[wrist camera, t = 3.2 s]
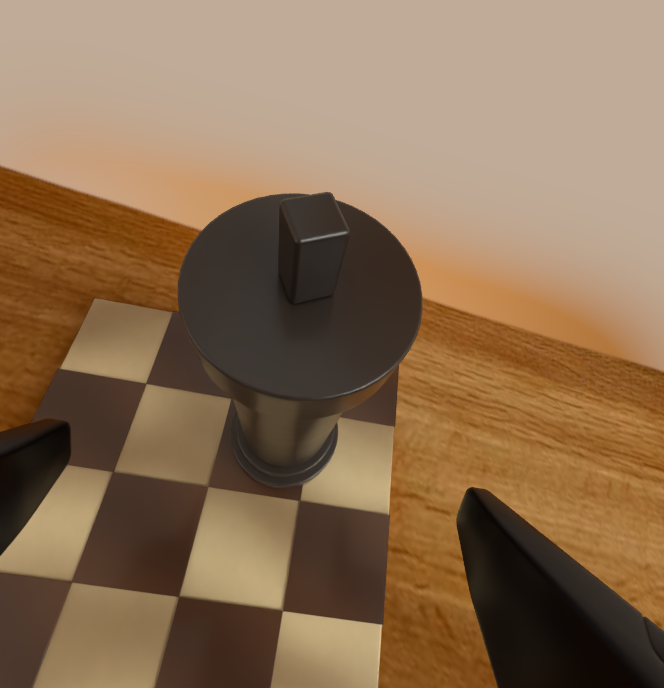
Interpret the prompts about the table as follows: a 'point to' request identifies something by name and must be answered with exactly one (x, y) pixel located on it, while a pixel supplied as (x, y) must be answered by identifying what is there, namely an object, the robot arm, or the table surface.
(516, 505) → the table surface
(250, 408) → the chess king
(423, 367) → the table surface
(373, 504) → the chessboard
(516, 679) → the robot arm
